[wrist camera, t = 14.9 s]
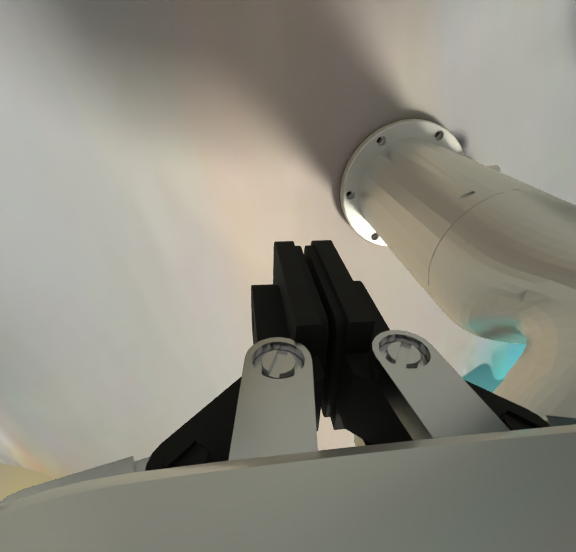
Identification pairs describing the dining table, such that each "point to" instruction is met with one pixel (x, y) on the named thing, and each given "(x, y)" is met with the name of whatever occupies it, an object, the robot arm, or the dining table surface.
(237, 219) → the dining table surface
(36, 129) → the dining table surface
